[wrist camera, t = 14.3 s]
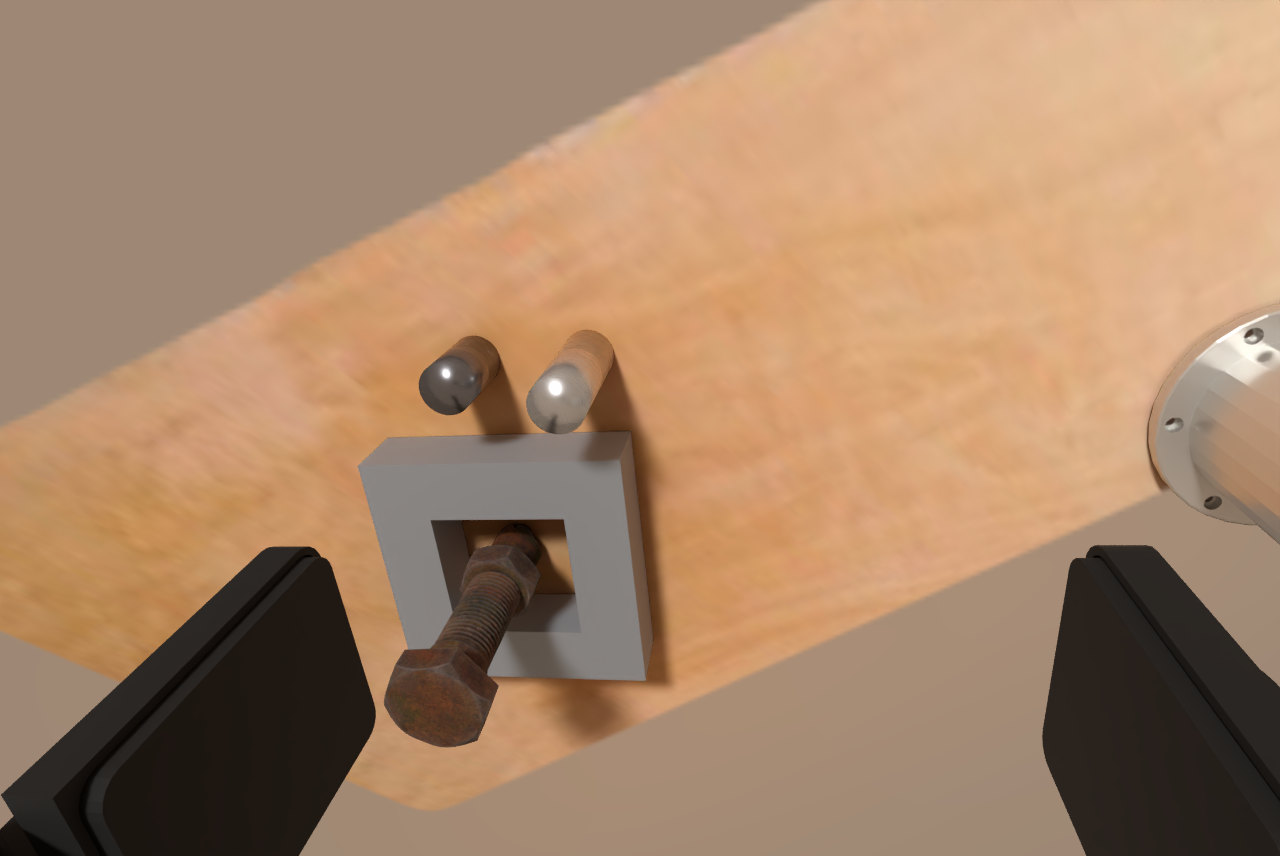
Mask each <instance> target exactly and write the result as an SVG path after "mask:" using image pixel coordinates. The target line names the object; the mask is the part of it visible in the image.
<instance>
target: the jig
mask: <svg viewBox="0 0 1280 856" xmlns="http://www.w3.org/2000/svg"><path fill="white" fill-rule="evenodd" d="M358 468H359V472H360V476H361V479H362V483H363V486H364V490H365V494H366V497H367V501H368V505H369V508H370V512H371V515H372V519H373V523H374V526H375V530H376V534H377V537H378V541H379V544H380V548H381V552H382V555H383V559H384V562H385V566H386V570H387V573H388V577H389V581H390V584H391V588H392V591H393V595H394V599H395V602H396V606H397V610H398V613H399V617H400V620H401V624H402V628H403V631H404V635H405V639H406V642H407V646H408V649H409V650H410V649H430V648H431V647H432V646H433V645H434V644H435V642H436V640H437V639H438V637H439V635H440V633H441V632H442V630H443V628H444V626H445V625H446V623H447V621H448V620H449V618H450V616H451V614H452V613H453V611H454V609H455V608H456V607H457V604H458V603H459V601H460V599H461V598H462V596H463V594H462V593H461V591H460V586H461V582H462V578H463V575H464V572H465V569H466V567H467V564H468V562H469V559H470V557H469V552H468V547H467V543H466V538H465V534H464V529H463V525H462V520H523V519H564V524H565V531H566V537H567V544H568V550H569V556H570V563H571V569H572V575H573V582H574V588H575V594H533V597H532V599H531V602H530V604H529V607H528V609H527V611H526V613H525V615H523V616H520V617H516V618H512V619H511V622H510V623H509V626H508V628H507V630H506V632H505V634H504V637H503V639H502V641H501V643H500V646H499V648H498V650H497V651H496V654H495V656H494V658H493V660H492V662H491V664H490V667H489V669H488V673H487V675H488V676H497V677H531V678H565V679H599V680H633V681H646V677H647V672H648V666H649V661H650V656H651V651H652V645H653V630H652V621H651V612H650V603H649V594H648V585H647V575H646V566H645V557H644V548H643V539H642V529H641V520H640V511H639V502H638V493H637V484H636V474H635V465H634V456H633V447H632V438H631V431H614V432H578V433H567V434H552V433H542V434H506V435H470V436H434V437H398V438H387V439H386V440H385V441H384V442H383V443H382V444H381V445H380V446H379V447H377V448H376V449H375V450H374V451H373V452H372V453H371V454H370V455H369V456H368V457H367V458H366V459H365V460H364V461H363V462H362V463H361V464H359V465H358Z"/></svg>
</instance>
